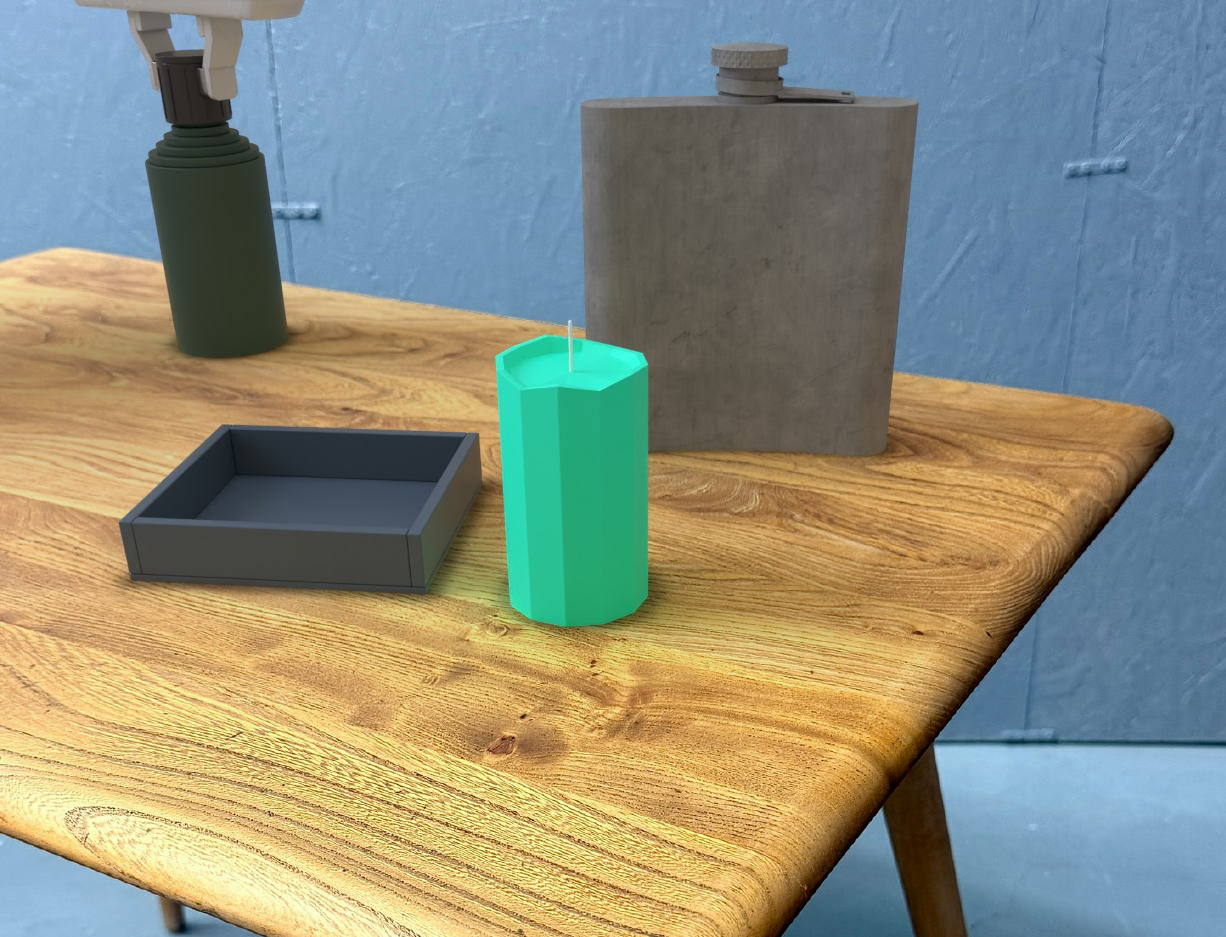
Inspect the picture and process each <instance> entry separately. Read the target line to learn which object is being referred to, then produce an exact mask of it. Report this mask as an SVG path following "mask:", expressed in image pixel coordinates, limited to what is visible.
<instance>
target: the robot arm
mask: <svg viewBox="0 0 1226 937" xmlns="http://www.w3.org/2000/svg"><path fill="white" fill-rule="evenodd" d="M73 1H74V2H75V4H76V5H77V6H78V7H83V8H93V9H94V8H95V9H107V10H120V11H126V16H127V21H128V27H129V31H130V33H131V35H132V37H133V40H134V41H135V43H136V44H137V47H138V48H139V50H140V52H141V54H142V56H143V58H144V60H145V61H146V64H147V68H148V74H149V80H150V85H151V87H152V89H153V90H154V91H155V92H159V93H161V91H160V85H159V79H158V74H157V68H156V61H155V54H157V53H160V52H167V51H176V47H175V46H174V43H173V41H172V38H171V35H170V32H169V29H172V28H173V24H172V17H171V15H180V16H190V17H191V16H193V17H195V20H196V26H197V32H198V33H197V34H198V36H199V37H200V38H204V46H203V49H204V55H203V66H202V67H195V70H196V77H197V81H198V83H199V86H198V89H199V93H200V95H201V96H202V97H204V98H206V99H212V100H226V99H230V100H233V99H235V98H236V97H237V96H238V93H239V88H238V81H237V80H238V79H237V74H236V66H237V63H238V59H239V54H240V51H241V46H242V43H243V39H244V30H243V23H242V21H253V22H255V21H256V22H257V21H271V20H272V21H273V20H284V19H292V18H297V17H298V16H300V14H301V12H302V10H303V8H304V5H305V2H306V0H73Z"/></svg>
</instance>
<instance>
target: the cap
mask: <svg viewBox="0 0 1226 937" xmlns="http://www.w3.org/2000/svg"><path fill="white" fill-rule="evenodd" d="M203 55H204V48H201V49H178V50H177V49H175V51H167V52H160V53H157V54H155V61H156V68H157V74H158V79H159V85H160V91H161V92H160V96H161V103H162V108H163V114H164V118H165V120H164V121H165V122H166V123H167V124H170V125H173V124H178V125H199V124H211V123H219V122H224V121H226V122H228V121H230V120H232V119H233V110H232V102H231V99H226V100H212V99H206V98H204V97H202V96H201V95H200V93H199V89H198V86H199V83H198V81H197V77H196V70H195V67H202V66H203Z"/></svg>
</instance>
